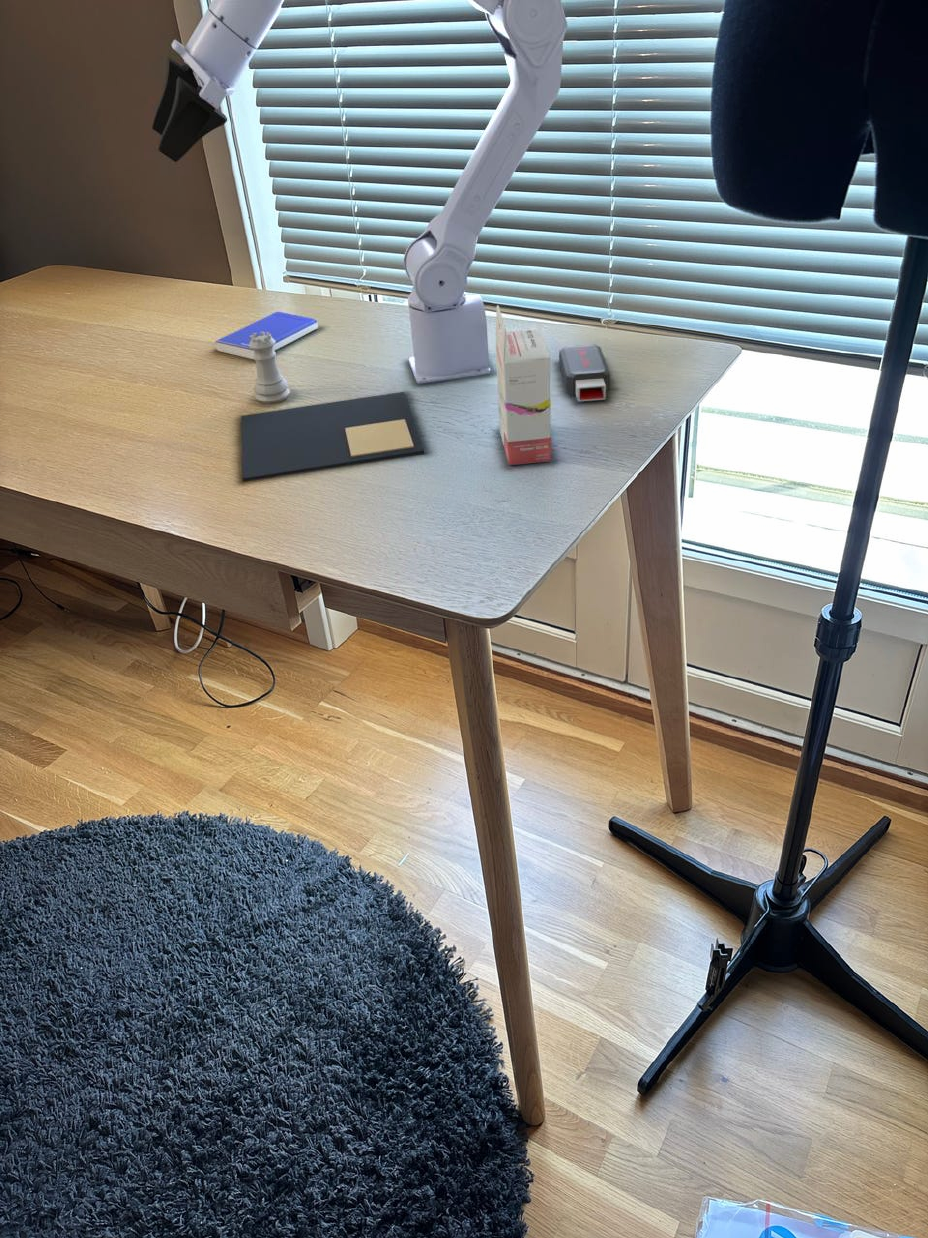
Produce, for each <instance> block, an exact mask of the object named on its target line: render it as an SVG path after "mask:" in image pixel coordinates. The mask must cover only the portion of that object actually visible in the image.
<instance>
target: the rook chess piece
mask: <svg viewBox="0 0 928 1238" xmlns="http://www.w3.org/2000/svg"><path fill="white" fill-rule="evenodd" d="M260 334H261V336H258V335H257V333H254V334H253V335H251V336H250V339H251V341H250V343H249V347H250V348H251V349H252V350H253V351H254V355H253V358H254V359H255V360H254V359H253V360H254V361H255V364H256V365H255V367H256V378H255V383H254V385H253V391H254V393H255V394H254V398H255V400H256V401H258V402H259V403H262V404H265V405H271V404H278V403H280V402H284V401H285V400H287V398H288V397H289V395H290V392H291V390H290V388H288V387H289V383H288V381H287V379H285V378H284V376H283V374H281V372H280V369H279V366H278V363H277V360H276V355H277V352H276V351H274V350H273V346H274V344H275V342H276V341H275V340H274V339H273V338H272V337H271V334H270V333H269V332H267V333H266V335H265V333H264V332H260ZM253 337H254V338H253Z"/></svg>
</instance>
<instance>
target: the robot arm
mask: <svg viewBox="0 0 928 1238" xmlns="http://www.w3.org/2000/svg"><path fill="white" fill-rule="evenodd" d="M284 1H285V0H212V1H211V2H210V4H209V6H208V8H207V10H206V11H205V13H204V15H203V16H202V18H201V20H200V21H199V23H198V25H197V26H196V28H195V30H194V32H193V33H192V35H191V37H190V38H189V40H188V42H187V43H186V45H184V44H182V43H181V42H179V41H178V40H177V39H174V40H173V41H172V43H171V48H172V49H173V51H175V52H176V53H177V54H179V55H180V57H181V58H182V60H183V62H184V63H185V64H180V63H179V62H177V61H176V60H175V59H173V58H172V57H170V56H168V57H167V61H166V73H165V80H164V86H163V89H162V92H161V93H162V94H161V96H160V100H159V102H158V104H157V108H156V111H155V113H154V116H153V121H152V124H151V130H153V131H155V132H156V133H157V134H159V135H160V136H161V137H160V140H159V142H158V147H157V150H158V151H159V152H160V153H161V154H162V155H164V156H166V157H167V158H169V159H170V160H171V161H173V162H174V163H177V162H178V161H180V160H181V159H183V157H184V156H185V155H186V154H187V153H188V152H189V151H190V150H191V149H192V148H193V147H194V146H195V145H196V144H197V143H198V142H199V141H200V140H201V139H202V138H204V137H205V136H206V135H207V134H209V133H211V132H212V131H214V130H215V129H217V128H219V127H222V126H224V125H225V124H226V123H227V122H228V117H227V115H226V114H224V113H223V112H222V111H221V110H219V108H220V106H221V104H222V102H223V101H224V99H225V98H226V97H227V96H232V95H233V93H234V92H235V90H236V88H235V86H236V85H237V83H238V81H239V79H240V78H241V76H242V74H243V73H244V71H245V70H246V68H247V66H248V65H249V64H250V62H251V60H252V58H253V57H254V55H255V54H256V52H257V51H258V48H260V47H259V46H260V45H261V44H262V42H263V40H264V39H265V37H266V35H267V34H268V32H269V31H270V30H271V28H272V26H273V24H274V23H275V21H276V19H277V18H278V16H279V14H280V13H281V10H282V5H283V3H284ZM467 1H468V3H470V4H471V5H472V6H473V8H475V9H476V10H479V11H481V12H482V13H483V12H484V14H485V18H486V21H487V23H488V26H489V27H490V29H491V31H492V33H493V35H494V36H495V38H496V40H497V42H498V43H499V45H500V46H501V48H502V50H503V55H504V58H505V63H506V67H507V71H508V74H509V77H510V83H509V85H508V87H507V89H506V90H505V92H504V94H503V96H502V98H501V100H500V102H499V104H498V105H497V108H496V109H495V111H494V112H493V115H492V117H491V119H490V120H489V123H488V125H487V126H486V128H485V129H484V132H483V133H482V136H481V137H480V139H479V141H478V143H477V145H476V147H475V148H474V150H473V153H472V154H471V156H470V157H469V159H468V162H467V163H466V165H465V167H464V169H463V170H462V173H461V175H460V176H459V178H458V180H457V182H456V184H455V185H454V188H453V190H452V191H451V193H450V195H449V196H448V199H447V201H446V203H445V204H444V206H443V208H442V210H441V211H440V212H439V213H438V214H437V215H435V216H434V218H432V219H431V220H430V221H429V223H428V225H427V227H426V228H425V229H424V231H423V232H422V233H421V234H420V235H419V236H418V237H416V238H415V239H413V240H412V241H411V242H410V243H409V245H408V246H407V247H406V250H405V252H404V256H403V267H404V271H405V273H406V276H407V277H408V278H409V279H410V281H411V282H412V284H413V286H412V289H411V291H410V293H409V295H408V297H407V304H408V313H409V314H408V315H409V322H410V324H409V325H410V333H411V342H412V350H413V352H412V353H413V356H410V357H409V358H408V359H407V360H408V364H409V366H410V368H411V371H412V374H413V377H414V379H415V382H416V383H417V384H419V385H422V384H428V383H429V384H430V383H435V382H441V381H448V380H449V381H451V380H456V379H462V378H469V377H470V378H471V377H476V376H482V375H489V374H491V368H490V355H489V339H488V338H489V337H488V323H487V315H486V309H485V304H484V301H483V298H482V296H481V295H480V294H467V292H466V289H467V285H468V275H469V270H470V267H471V266H472V264H473V262H474V260H475V256H476V252H477V251H476V249H477V243H478V238H479V236H480V234H481V232H482V230H483V228H484V227H485V225H486V223H487V221H488V220H489V218H490V216H491V215H492V212H493V211H494V209H495V207H496V206H497V204H498V202H499V200H500V198H501V197H502V195H503V193H504V191H505V189H506V188H507V186H508V185H509V182H510V181H511V179H512V177H513V175H514V173H515V171H516V170H517V168H518V166H519V165H520V163H521V161H522V159H523V157H524V155H525V154H526V152H527V151H528V149H529V147H530V145H531V143H532V141H533V139H534V138H535V136H536V134H537V132H538V131H539V129H540V127H541V125H542V124H543V121H544V120H545V118H546V116H547V114H548V113H549V111H550V109H551V107H552V105H553V104H554V102H555V100H556V99H557V97H558V95H559V91H560V90H561V84H562V83H561V82H562V68H563V67H562V66H563V51H564V38H565V35H566V32H567V30H568V29H567V28H568V20H567V17H566V14H565V10H564V7H563V3H562V0H467Z"/></svg>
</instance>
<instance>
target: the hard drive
mask: <svg viewBox="0 0 928 1238" xmlns="http://www.w3.org/2000/svg"><path fill="white" fill-rule="evenodd" d="M317 329H319V325H318V320H317V319H315V318H312V317H307V316H302V315H296V314H292V313H286V312H281V311H275V312H273V313H271V314H269V315H267V316H265V317H262V318H261V319H259V320H257V321H254V322H253V323H250V324H248V325H246V326H244V327H242V328H240V329H238V330H236V331H234V332H231V333H229V334H227V335H225V336H223V337H221V338H218V339H217V340H215V341H214V345H215V349H216V350H217V351H218V352H221V353H226V354H230V355H234V356H238V357H242V358H246V359H251V360H254V361H255V359H254V358H253V355H254V351H253V350H252V349H251V348H250V347H249V343H250V341H251V339H250V336H251V335H253V334H254V333H257V335H258V336H261V334H260V332H264V333H265V335H266V333H267V332H269V333H270V334H271V337H272V338H273V339H274V340H275V341H276V342H275V344H274V346H273V350H274V352H276V351H277V350H279V349H280V348H283V347H285V346H286V345H288V344H290V343H293V342H294V341H296V340H298V339H300V338H302V337H303V336H305V335H307V334H309V333H312V332H313V331H315V330H317ZM253 338H254V337H253Z"/></svg>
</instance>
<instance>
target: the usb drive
mask: <svg viewBox="0 0 928 1238" xmlns="http://www.w3.org/2000/svg"><path fill="white" fill-rule="evenodd" d="M558 351H559V352H558V365H559V369H560V373H561V376H562V380H563V385H564V389H565V391H566V394H568V395H570V396H571V397H576V402H591V401H603V400H604V401H605V400H606V399H607V394H608V392H609V391H610V385H611V373H610V369H609V367H608V364H607V362H606V358H605V356H604V353H603V350H602V348H601V346H599V345H598V344H582V345H570V346H563V347H562V348H560V349H559V350H558Z"/></svg>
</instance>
